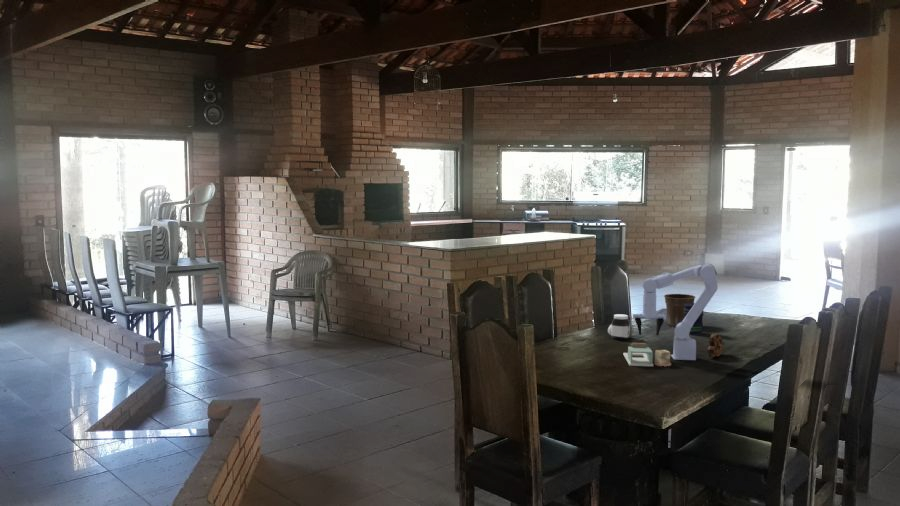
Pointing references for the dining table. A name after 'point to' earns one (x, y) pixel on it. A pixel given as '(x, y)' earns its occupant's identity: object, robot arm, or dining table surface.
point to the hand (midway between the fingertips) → (648, 334)
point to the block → (662, 356)
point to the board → (638, 360)
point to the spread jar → (620, 327)
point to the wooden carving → (715, 345)
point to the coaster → (662, 364)
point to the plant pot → (676, 307)
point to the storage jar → (698, 323)
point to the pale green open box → (640, 351)
